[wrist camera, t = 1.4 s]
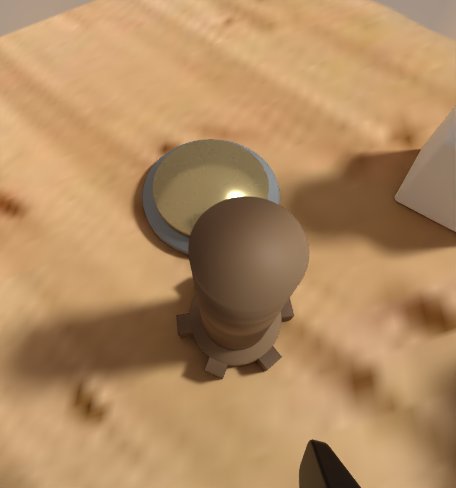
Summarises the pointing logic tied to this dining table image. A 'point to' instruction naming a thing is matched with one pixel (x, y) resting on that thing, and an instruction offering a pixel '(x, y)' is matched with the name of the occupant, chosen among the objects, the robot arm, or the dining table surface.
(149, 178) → the plate
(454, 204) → the medicine bottle
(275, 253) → the gear spindle
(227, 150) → the hub
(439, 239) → the dining table surface
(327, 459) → the robot arm
